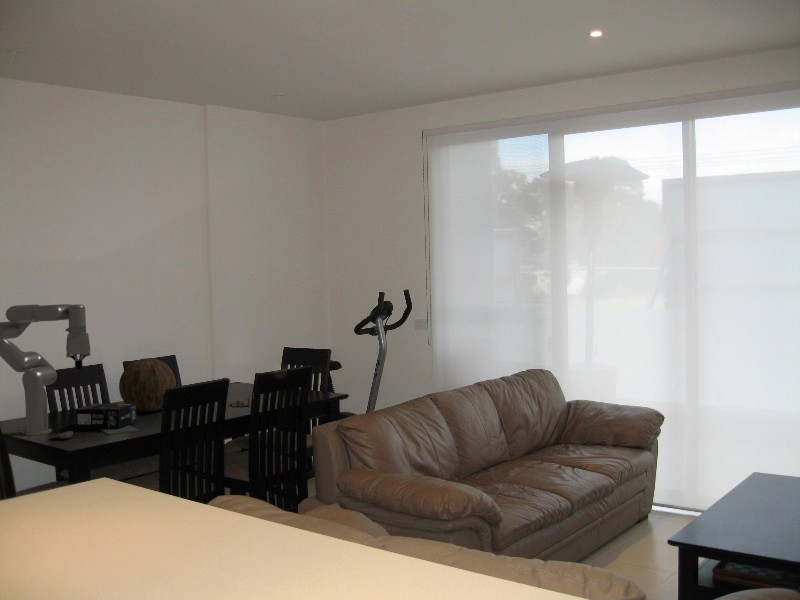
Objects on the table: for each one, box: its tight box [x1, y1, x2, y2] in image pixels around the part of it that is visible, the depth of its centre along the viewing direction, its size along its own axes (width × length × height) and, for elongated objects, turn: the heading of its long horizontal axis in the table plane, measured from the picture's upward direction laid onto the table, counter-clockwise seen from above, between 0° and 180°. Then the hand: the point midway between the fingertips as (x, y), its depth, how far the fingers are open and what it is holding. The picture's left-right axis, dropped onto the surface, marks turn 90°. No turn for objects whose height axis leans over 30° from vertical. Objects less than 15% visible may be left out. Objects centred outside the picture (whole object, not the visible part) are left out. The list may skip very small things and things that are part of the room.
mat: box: [98, 425, 140, 436], centre depth 384 cm, size 14×25×1 cm, turn 35°
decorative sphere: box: [118, 357, 177, 413], centre depth 434 cm, size 30×30×30 cm
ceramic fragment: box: [48, 430, 74, 439], centre depth 366 cm, size 11×3×10 cm
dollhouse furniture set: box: [228, 391, 253, 408], centre depth 447 cm, size 13×13×11 cm
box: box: [74, 402, 138, 430], centre depth 392 cm, size 23×10×19 cm
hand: (78, 368), depth 374 cm, fingers closed
